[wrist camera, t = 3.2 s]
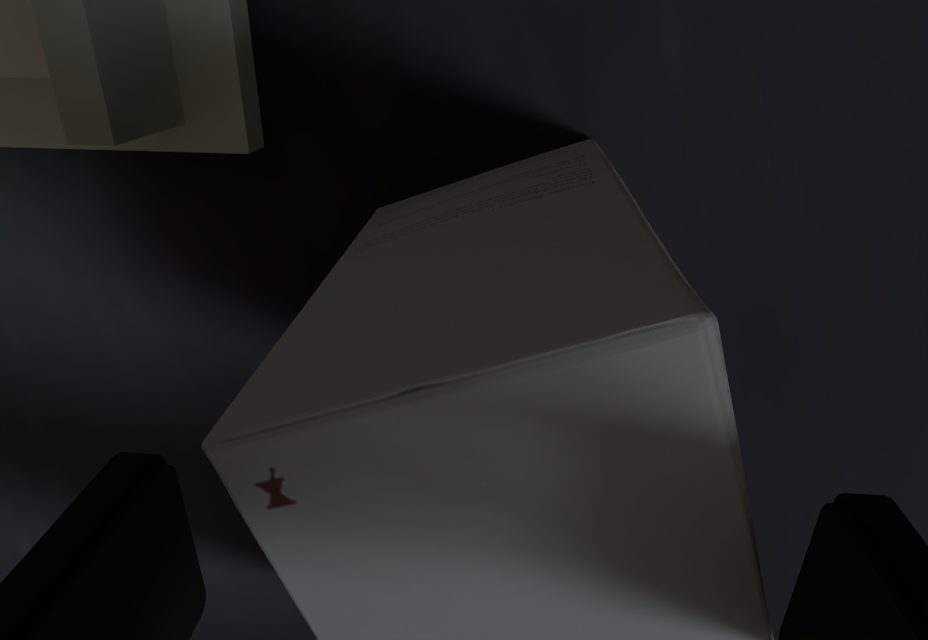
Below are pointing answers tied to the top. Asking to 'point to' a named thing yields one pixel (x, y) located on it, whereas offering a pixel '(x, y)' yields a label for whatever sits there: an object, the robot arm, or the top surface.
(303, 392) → the supplement box
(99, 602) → the robot arm
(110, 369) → the top surface
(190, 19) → the tray
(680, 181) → the top surface
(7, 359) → the top surface
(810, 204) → the top surface
